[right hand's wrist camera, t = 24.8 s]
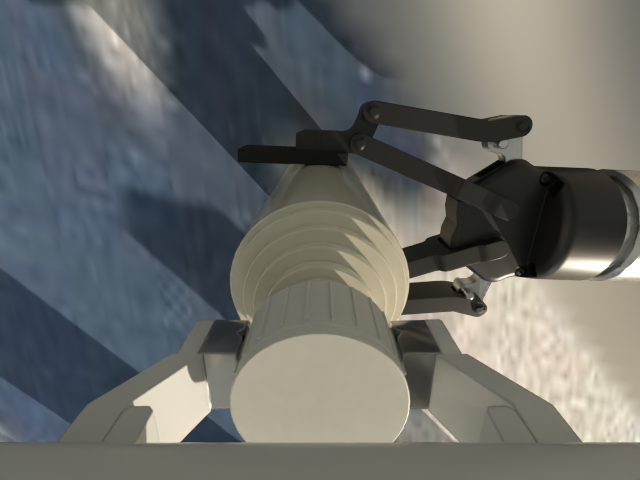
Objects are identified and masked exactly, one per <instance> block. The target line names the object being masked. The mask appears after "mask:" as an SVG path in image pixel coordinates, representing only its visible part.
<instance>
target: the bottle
mask: <svg viewBox="0 0 640 480" xmlns="http://www.w3.org/2000/svg"><path fill="white" fill-rule="evenodd" d="M307 281H332V282H337V283H341V284H344V285H347V286H350V287H354V289H356V290H358V291H360V292H362V293H363V294H365V295H366V296H368V297H371V298H372V301H373V302H375V304H376V305H377V306H378V307H379V308H380V310H381V311H384V313H385V316H386V319H387V322H388V325H389V321H398V320H399V318H400V316H401V313H402V311H403V309H404V306H405V304H406V300H407V296H408V292H409V269H408V265H407V260H406V257H405V255H404V252H403V250H402V248H401V246H400V244H399V242H398V240H397V239H396V237H395V236H394V234H393V232H392V231H391V229H390V227H389V226H388V224H387V223H386V221H385V219H384V218H383V216H382V214H381V213H380V211H379V209H378V208H377V206H376V205H375V203H374V201H373V200H372V198H371V196H370V195H369V193H368V191H367V190H366V188H365V187H364V185H363V183H362V182H361V180H360V178H359V177H358V175H357V173H356V172H355V170H354V169H353V167H352V166H351V165H350V164H349V163H347V166H328V165H303V164H289V165H288V167H287V168H286V169H285V171H284V173H283V174H282V176H281V177H280V179H279V181H278V182H277V184H276V186H275V187H274V189H273V190H272V192H271V194H270V195H269V197H268V199H267V200H266V202H265V204H264V205H263V207H262V208H261V210H260V212H259V213H258V215H257V217H256V218H255V220H254V222H253V223H252V225H251V226H250V228H249V230H248V231H247V233H246V235H245V236H244V238H243V239H242V241H241V243H240V245H239V247H238V249H237V251H236V253H235V256H234V259H233V262H232V266H231V272H230V288H231V295H232V299H233V303H234V305H235V308H236V310H237V313H238V315H239V317H240V319H241V320H249V321H250V323H251V324H252V321H253V318H254V314H255V312H256V311H258V310H259V309H260V308H261V307H262V305H263V304H264V303H265V302H266V301H267V300H268V298H269V297H272V296H273V295H275V294H276V293H277V292H279V291H281V290H283V289H285V288H286V287H288V286H289V287H290V286H292V285H295V284H299V283H303V282H307Z"/></svg>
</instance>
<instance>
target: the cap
mask: <svg viewBox="0 0 640 480" xmlns="http://www.w3.org/2000/svg"><path fill="white" fill-rule="evenodd" d="M233 375H235V377H234V380H233V383H232V386H231V391H230V403H229V404H230V411H231V416H232V419H233V422H234V424H235V426H236V428H237V430H238V432H239V433H240V435H241V436H242V438H243V439H244V440H245V441H246V442H305V443H393V442H394V440H395V439H396V438H397V437H398V436H399V434H400V432H401V431H402V429H403V427H404V425H405V423H406V421H407V417H408V413H409V407H410V395H409V389H408V385H407V382H406V379H405V376H404V375H407V374H406V370H405V367H404V364H403V362H402V359H401V356H400V353H399V350H398V348H397V343H396V340H395V337H394V335H393V332H392V329H391V328H389V325H388V322H387V319H386V316H385V313H384V311H381V310H380V308H379V307H378V306H377V305H376V304H375V302H373V301H372V298H371V297H368V296H366V295H365V294H363V293H362V292H360V291H358V290H356V289H354V287H350V286H347V285H344V284H341V283H337V282H332V281H307V282H303V283H299V284H295V285H292V286H290V287H289V286H288V287H286V288H285V289H283V290H281V291H279V292H277V293H276V294H275V295H273V296H272V297H269V298H268V300H267V301H266V302H265V303H264V304H263V305H262V307H261V308H260V309H259V310H258V311H256V312H255V314H254V318H253V321H252V324H251V327H250V328H249V327H248V330H247V333H246V336H245V339H244V342H243V345H242V348H241V351H240V354H239V357H238V360H237V363H236V366H235V369H234V372H233Z"/></svg>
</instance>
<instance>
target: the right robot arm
mask: <svg viewBox="0 0 640 480" xmlns="http://www.w3.org/2000/svg"><path fill="white" fill-rule="evenodd" d="M248 327H249V328H250V327H251V323H250V321H249V320H198V321H197V322H196V323H195V325H194V327H193V328H192V330H191V332H190V333H189V335H188V337H187V338H186V340H185V342H184V343H183V345H182V347H181V348H180V350H179V352H178V353H177V354H171V355H170V356H168V357H166V358H165V359H163V360H161V361H159V362H158V363H156V364H154V365H153V366H151V367H149V368H148V369H146V370H144V371H143V372H141V373H139V374H138V375H136V376H134V377H132V378H131V379H129V380H127V381H126V382H124V383H122V384H121V385H119V386H117V387H116V388H114V389H112V390H110V391H109V392H107V393H105V394H104V395H102V396H100V397H99V398H97V399H95V400H94V401H92V402H90V403H89V404H87V405H86V406H85V407H84V409H83V410H82V411H81V412H80V414H79V415H78V416H77V417H76V419H75V420H74V421H73V422H72V424H71V425H70V426H69V427H68V429H67V430H66V431H65V432H64V434H63V435H62V436H61V437H60V439H59V440H58V441H57V442H0V480H640V442H582V441H581V440H580V439H579V437H578V436H577V435H576V434H575V432H574V431H573V430H572V428H571V427H570V426H569V425H568V423H567V422H566V421H565V420H564V418H563V417H562V416H561V415H560V413H559V412H558V411H557V410H556V408H555V407H554V406H553V405H552V404H550V403H549V402H547V401H545V400H544V399H542V398H540V397H539V396H537V395H535V394H533V393H532V392H530V391H528V390H527V389H525V388H523V387H522V386H520V385H518V384H517V383H515V382H513V381H512V380H510V379H508V378H507V377H505V376H503V375H502V374H500V373H498V372H497V371H495V370H493V369H491V368H490V367H488V366H486V365H485V364H483V363H481V362H480V361H478V360H476V359H475V358H473V357H471V356H470V355H468V354H462V353H461V351H460V350H459V348H458V346H457V345H456V343H455V341H454V340H453V338H452V336H451V335H450V333H449V331H448V330H447V328H446V327H445V325H444V323H443V322H442V321H441V320H440V319H436V320H408V321H389V328H391V329H392V332H393V335H394V337H395V340H396V343H397V348H398V350H399V353H400V356H401V359H402V362H403V364H404V367H405V370H406V374H407V375H404V376H405V379H406V382H407V385H408V389H409V395H410V407H409V408H410V409H429V410H428V411H429V412H430V413H431V414H432V415H433V416H434V417H435V418H436V419H437V420H438V421H439V422H440V423H441V424H442V425H443V426H444V427H445V428H446V429H447V430H448V431H449V432H450V433H451V434H452V435H453V436H454V437H455V438H456V439H457V440H458V441H459V442H460V443H305V442H190V443H179V442H180V441H181V440H182V439H183V438H184V437H185V436H186V435H187V434H188V433H189V432H190V431H191V430H192V429H193V428H194V427H195V426H196V425H197V424H198V423H199V422H200V421H201V420H202V419H203V418H204V417H205V416H206V415H207V414H208V413H209V412H210V411H211V409H229V408H230V404H229V403H230V391H231V386H232V383H233V380H234V377H235V375H233V372H234V369H235V366H236V363H237V360H238V357H239V354H240V351H241V348H242V345H243V342H244V339H245V336H246V333H247V330H248Z"/></svg>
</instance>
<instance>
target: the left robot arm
mask: <svg viewBox="0 0 640 480" xmlns="http://www.w3.org/2000/svg"><path fill="white" fill-rule="evenodd" d="M378 124H381V125H386V126H392V127H398V128H404V129H410V130H415V131H421V132H427V133H433V134H439V135H444V136H450V137H456V138H462V139H468V140H474V141H481V142H482V147H483V149H485V150H486V151H490V152H494V153H496V154H497V155H498V157H499V160H497V161H496V162H494V163H492V164H491V165H489V166H487V167H486V168H484V169H482V170H481V171H479V172H477V173H476V174H474V175H472V176H471V177H469V178H467V179H466V180H465V179H463V178H461V177H458V176H456V175H454V174H452V173H450V172H447V171H445V170H443V169H441V168H438V167H436V166H434V165H432V164H430V163H427V162H425V161H423V160H421V159H418V158H416V157H414V156H412V155H410V154H407V153H405V152H403V151H401V150H398V149H396V148H394V147H392V146H390V145H387V144H385V143H383V142H381V141H378V140H376V139H374V138H372V137H373V135H374V133H375V131H376V128H377V126H378ZM531 128H532V120H531V118H530V117H528V116H525V115H524V116H523V115H500V116H495V117H490V118H485V119H477V118H471V117H465V116H460V115H454V114H448V113H443V112H437V111H431V110H426V109H420V108H414V107H409V106H403V105H397V104H392V103H386V102H380V101H370V102H366V103H364V104H363V105H362V106H361V107H360V109H359V113H358V116H357V118H356V120H355V123H354V124H353V126H352V127H351V128H350V129H348V130H346V131H330V130H306V129H305V130H303V131H300V132H298V133H296V147H286V146H261V145H246V146H243V147H241V148H239V149H238V162H253V163H278V164H303V165H328V166H347V163H348V153H355V154H358V155H360V156H362V157H364V158H367V159H369V160H371V161H373V162H376V163H378V164H380V165H383V166H385V167H387V168H389V169H392V170H394V171H396V172H398V173H401V174H403V175H405V176H408V177H410V178H412V179H414V180H417V181H419V182H421V183H423V184H426V185H428V186H430V187H433V188H435V189H437V190H439V191H442V192H444V193H446V194H447V197H446V203H445V208H446V218H445V220H444V222H443V224H442V226H441V232H440V234H439V235H435V236H432V237H429V238H427V239H426V240H425V241H424V242H422V243H419V244H415V245H412V246H409V247H405V248H402V250H403V252H404V255H405V257H406V260H407V265H408V269H409V279H410V278H413V277H417V276H420V275H423V274H427V273H430V272H434V271H438V270H440V271H451V270H455V269H458V268H461V267H465V266H466V267H467V268H469V269H470V270H471V271H472V272H474V273H473V274H472V275H471V276H470V277H468V278H455V279H454V281H453V282H449V281H429V282H415V283H409V292H408V296H407V300H406V304H405V306H404V309H403V311H402V313H401V315H407V314H421V313H435V312H450V311H454V312H458V313H462V314H467V315H471V316H475V317H479V316H482V315H484V314H485V313H486V311H487V306H486V304H485V303H484V302H483V301H482V300H483V298H484V296H485V294H486V292H487V290H488V288H489V286H490V284H491V282H497V281H500V280H502V279H505V278H508V277H513V276H517V277H524V278H532V279H556V280H585V279H586V280H590V281H615V282H640V171H628V170H608V169H601V170H595V169H590V168H568V167H542V166H533V165H532V164H530V163H529V162H527V161H526V160H523V159H522V137H523V136H525V135H527V134H528V133H529V132H530V130H531Z"/></svg>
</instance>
